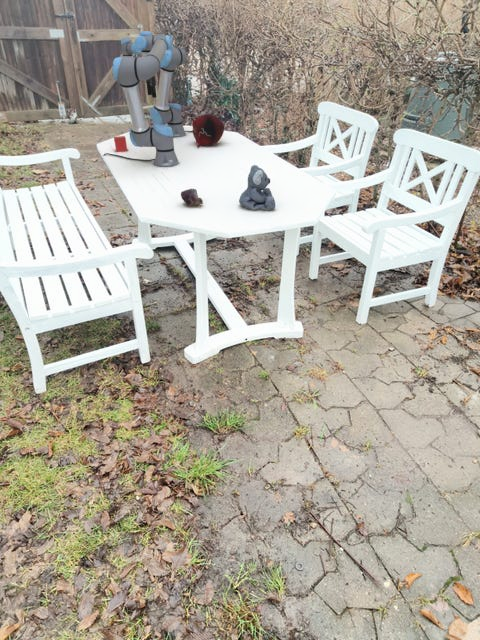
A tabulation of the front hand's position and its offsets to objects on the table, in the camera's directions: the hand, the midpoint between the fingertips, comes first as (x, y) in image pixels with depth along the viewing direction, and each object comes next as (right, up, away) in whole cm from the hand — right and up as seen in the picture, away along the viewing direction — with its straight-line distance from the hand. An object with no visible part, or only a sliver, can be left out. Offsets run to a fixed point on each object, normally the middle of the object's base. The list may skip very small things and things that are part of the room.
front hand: (152, 96), depth 301 cm
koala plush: (+68, -92, -72) cm, 135 cm away
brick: (-26, -28, +22) cm, 44 cm away
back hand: (-27, +31, +56) cm, 69 cm away
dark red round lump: (+35, -18, +36) cm, 54 cm away
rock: (+34, -91, -70) cm, 120 cm away
